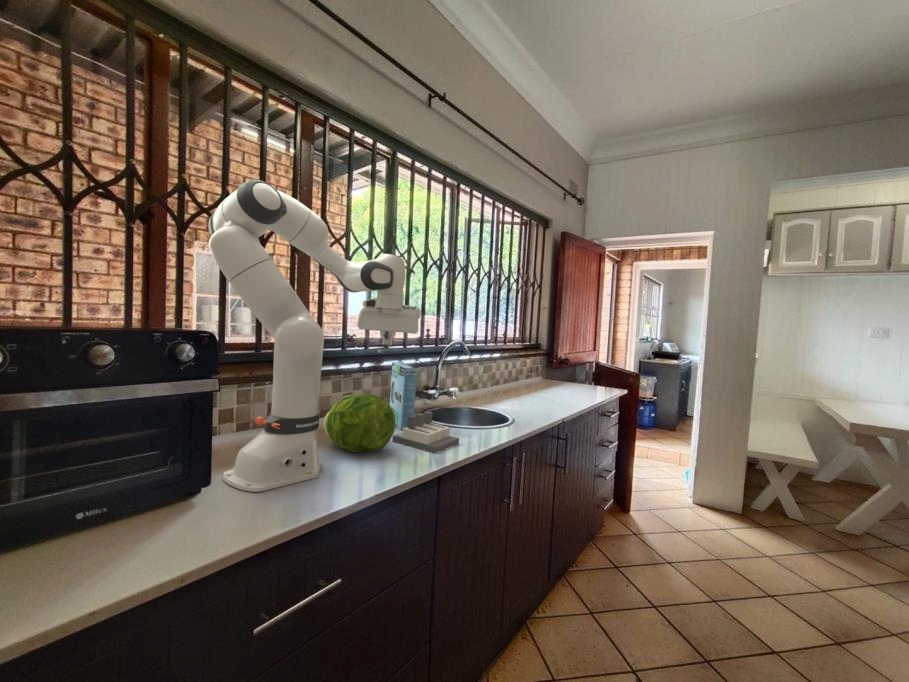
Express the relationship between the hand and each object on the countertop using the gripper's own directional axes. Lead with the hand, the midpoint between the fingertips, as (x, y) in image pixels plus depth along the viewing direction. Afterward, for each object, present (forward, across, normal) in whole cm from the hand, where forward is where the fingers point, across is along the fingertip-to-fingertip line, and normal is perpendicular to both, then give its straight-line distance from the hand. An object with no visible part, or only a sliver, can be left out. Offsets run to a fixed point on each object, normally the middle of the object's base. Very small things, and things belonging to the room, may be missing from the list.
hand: (387, 344), depth 136 cm
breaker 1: (+26, -10, +7) cm, 29 cm away
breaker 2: (+26, -16, -1) cm, 30 cm away
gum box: (+31, -5, -18) cm, 37 cm away
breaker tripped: (+26, -13, +3) cm, 29 cm away
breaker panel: (+31, -16, +5) cm, 35 cm away
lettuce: (+31, +6, +15) cm, 35 cm away
